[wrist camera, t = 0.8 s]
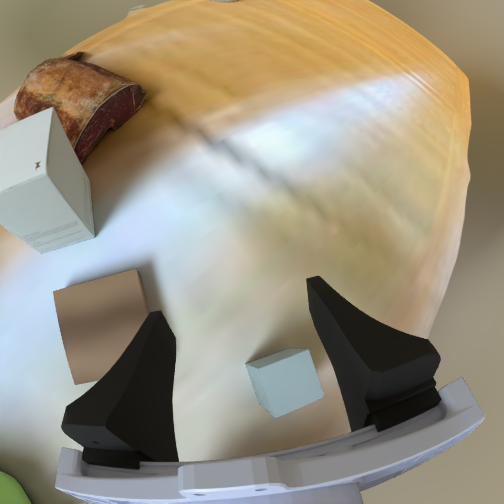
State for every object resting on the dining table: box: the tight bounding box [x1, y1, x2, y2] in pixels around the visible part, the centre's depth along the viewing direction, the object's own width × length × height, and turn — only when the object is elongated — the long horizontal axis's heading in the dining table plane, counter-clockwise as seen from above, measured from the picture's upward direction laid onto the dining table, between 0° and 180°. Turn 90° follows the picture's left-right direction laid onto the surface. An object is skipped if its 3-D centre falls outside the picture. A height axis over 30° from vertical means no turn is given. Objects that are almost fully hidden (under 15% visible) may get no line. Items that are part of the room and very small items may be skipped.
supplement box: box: [0, 107, 95, 254], centre depth 20 cm, size 7×7×13 cm
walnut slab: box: [53, 269, 150, 385], centre depth 24 cm, size 9×9×2 cm
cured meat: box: [14, 51, 147, 165], centre depth 28 cm, size 18×25×7 cm
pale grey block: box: [245, 348, 324, 418], centre depth 24 cm, size 4×4×6 cm
